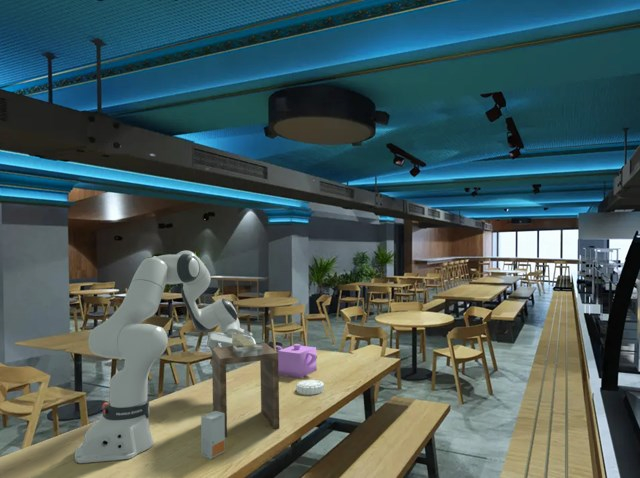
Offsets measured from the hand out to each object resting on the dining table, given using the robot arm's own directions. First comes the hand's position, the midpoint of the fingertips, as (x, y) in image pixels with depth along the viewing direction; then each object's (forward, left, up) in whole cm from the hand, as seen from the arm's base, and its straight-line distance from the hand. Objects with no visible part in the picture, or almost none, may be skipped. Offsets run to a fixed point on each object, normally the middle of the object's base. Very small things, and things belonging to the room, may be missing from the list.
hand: (233, 353), depth 186 cm
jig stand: (0, -23, -20) cm, 31 cm away
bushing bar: (0, -21, +6) cm, 22 cm away
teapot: (+37, +33, -20) cm, 54 cm away
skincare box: (-14, -43, -20) cm, 50 cm away
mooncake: (+34, +3, -20) cm, 39 cm away
